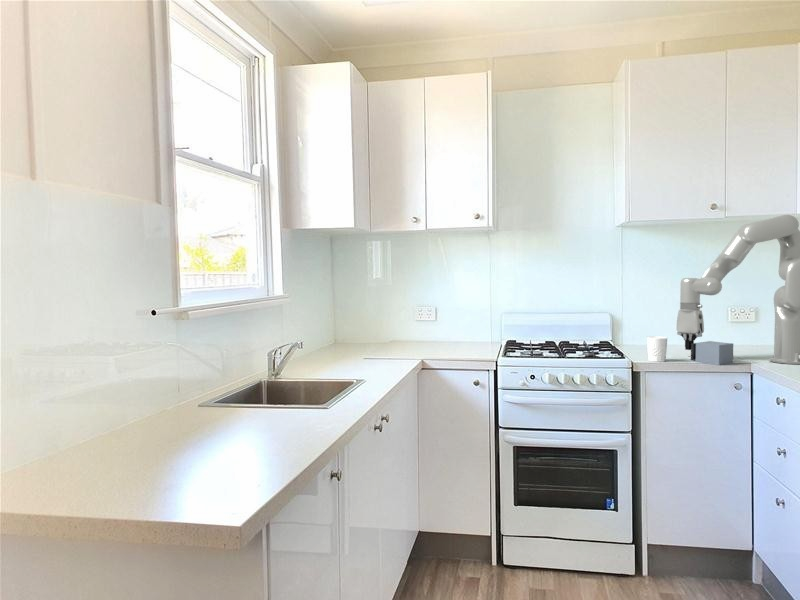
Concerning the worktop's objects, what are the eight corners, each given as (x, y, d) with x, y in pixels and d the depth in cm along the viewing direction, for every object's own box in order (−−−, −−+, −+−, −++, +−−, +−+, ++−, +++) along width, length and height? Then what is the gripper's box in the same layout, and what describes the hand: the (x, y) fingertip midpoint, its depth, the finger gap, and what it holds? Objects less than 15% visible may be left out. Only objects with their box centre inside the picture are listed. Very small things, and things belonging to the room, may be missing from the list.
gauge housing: (738, 362, 243) (738, 342, 243) (718, 365, 236) (719, 345, 236) (690, 356, 261) (691, 338, 261) (671, 358, 254) (671, 340, 253)
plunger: (729, 360, 245) (730, 344, 244) (714, 363, 239) (714, 346, 239) (706, 357, 254) (706, 341, 253) (690, 360, 248) (691, 343, 248)
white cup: (655, 362, 244) (655, 338, 243) (642, 359, 251) (643, 336, 251) (671, 361, 246) (671, 337, 246) (658, 359, 254) (658, 336, 253)
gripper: (712, 307, 247) (711, 350, 248) (679, 305, 259) (678, 347, 260) (701, 308, 243) (700, 352, 244) (668, 306, 256) (668, 348, 256)
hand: (689, 349), depth 252 cm, fingers closed
